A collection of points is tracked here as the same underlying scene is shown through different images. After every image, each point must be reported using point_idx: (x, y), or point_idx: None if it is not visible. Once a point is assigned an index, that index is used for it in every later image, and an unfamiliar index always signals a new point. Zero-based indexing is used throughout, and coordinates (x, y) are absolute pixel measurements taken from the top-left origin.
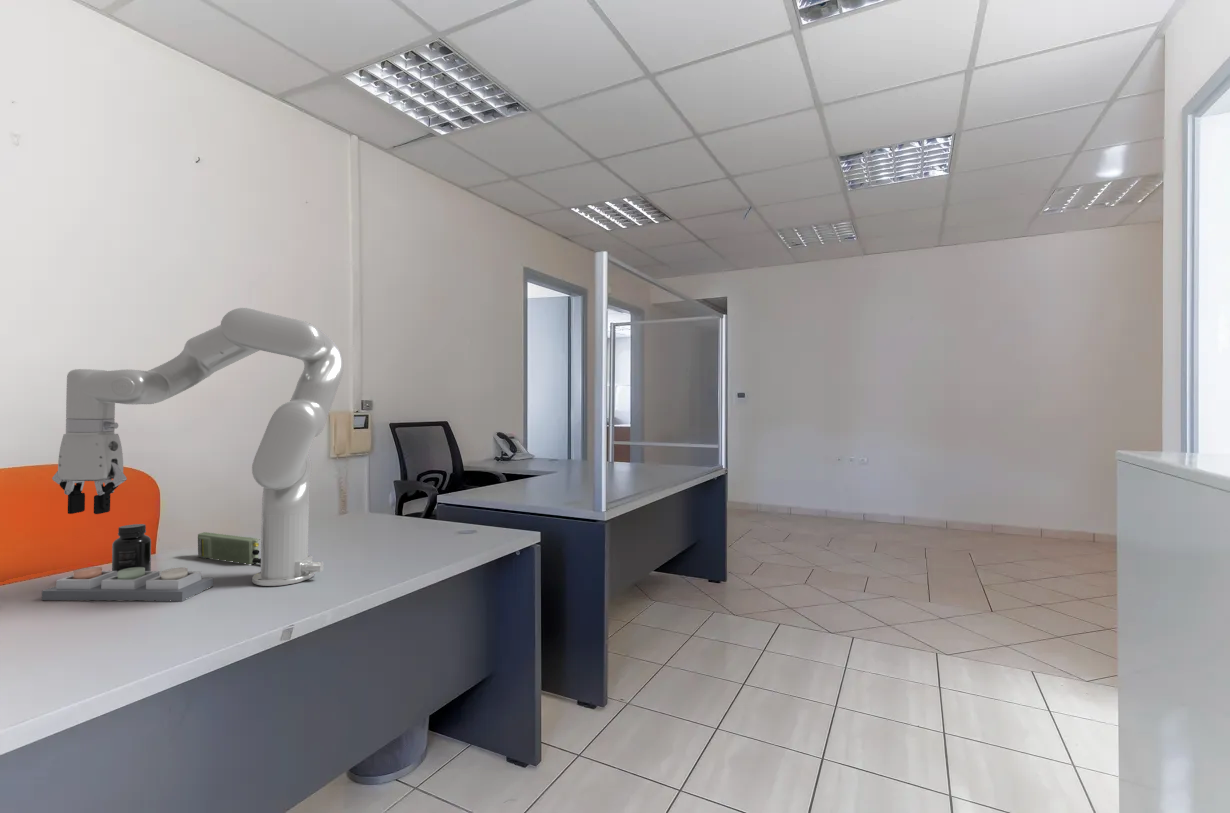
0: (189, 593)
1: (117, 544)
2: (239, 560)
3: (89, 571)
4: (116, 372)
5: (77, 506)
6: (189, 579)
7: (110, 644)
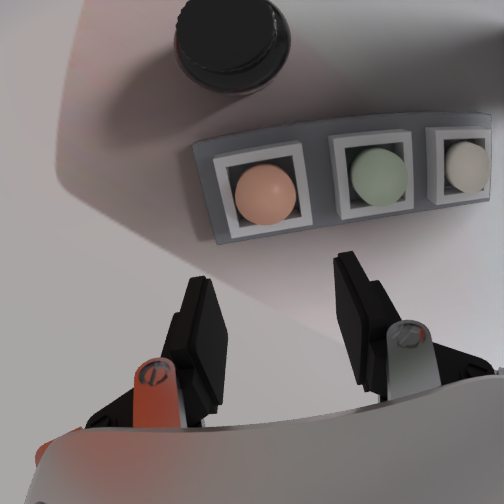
0: None
1: (233, 92)
2: None
3: (285, 208)
4: None
5: (218, 332)
6: None
7: (471, 328)
